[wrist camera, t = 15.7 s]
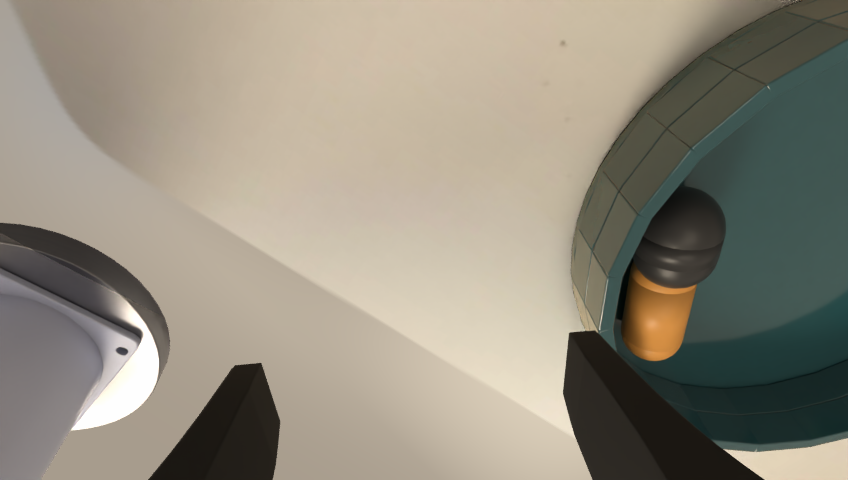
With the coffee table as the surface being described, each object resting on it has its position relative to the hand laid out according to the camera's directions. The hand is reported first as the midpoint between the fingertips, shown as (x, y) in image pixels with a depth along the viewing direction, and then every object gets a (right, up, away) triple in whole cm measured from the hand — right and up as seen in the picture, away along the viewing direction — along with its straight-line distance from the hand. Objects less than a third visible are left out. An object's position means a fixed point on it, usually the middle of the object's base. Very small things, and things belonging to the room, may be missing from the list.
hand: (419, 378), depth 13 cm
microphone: (+10, +1, +11) cm, 15 cm away
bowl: (+17, +4, +11) cm, 20 cm away
